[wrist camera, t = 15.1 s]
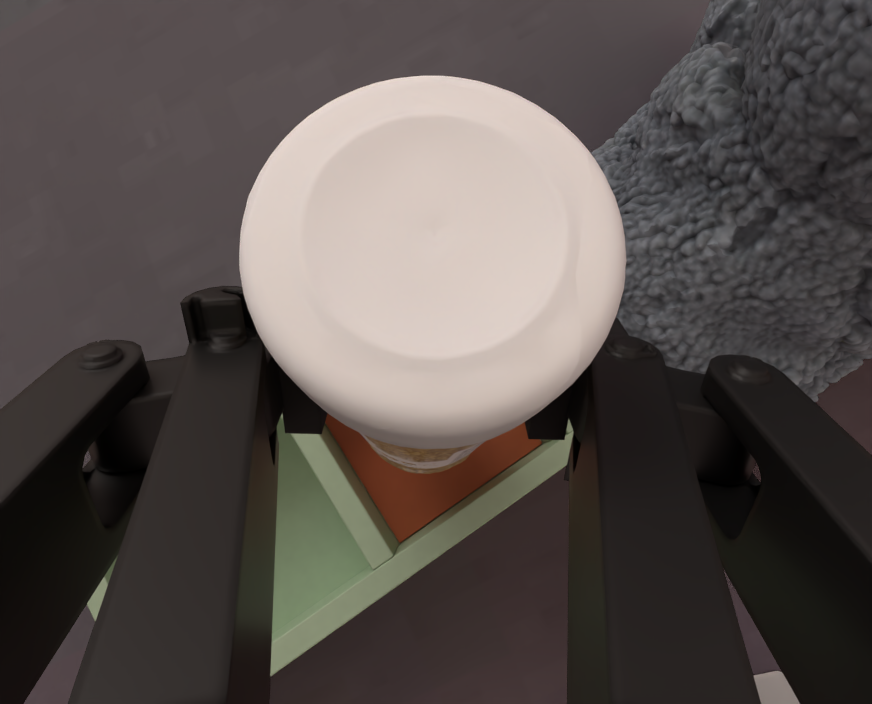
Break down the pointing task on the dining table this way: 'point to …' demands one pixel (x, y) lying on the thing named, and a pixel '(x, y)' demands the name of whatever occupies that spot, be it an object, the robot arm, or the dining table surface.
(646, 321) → the koala plush
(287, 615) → the green divided tray
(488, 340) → the sprinkles bottle
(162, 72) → the dining table surface
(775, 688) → the foam cup
